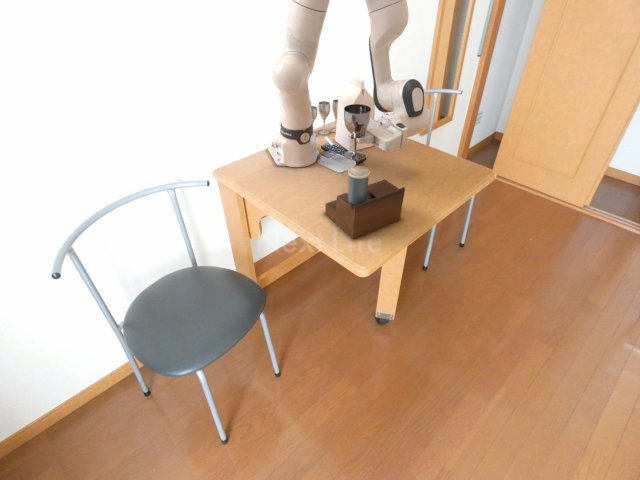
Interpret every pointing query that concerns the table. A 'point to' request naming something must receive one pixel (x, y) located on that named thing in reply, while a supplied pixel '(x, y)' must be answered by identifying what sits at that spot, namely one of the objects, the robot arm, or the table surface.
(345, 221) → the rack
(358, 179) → the tumbler
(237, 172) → the table surface
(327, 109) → the goblet set
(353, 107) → the wine glass
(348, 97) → the milk
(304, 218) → the table surface
